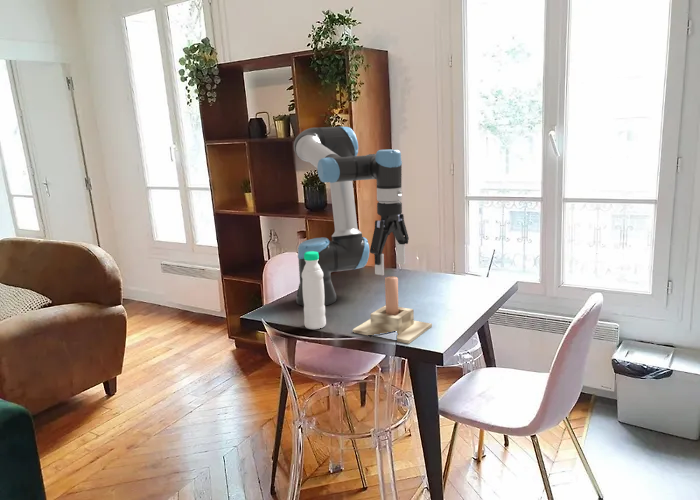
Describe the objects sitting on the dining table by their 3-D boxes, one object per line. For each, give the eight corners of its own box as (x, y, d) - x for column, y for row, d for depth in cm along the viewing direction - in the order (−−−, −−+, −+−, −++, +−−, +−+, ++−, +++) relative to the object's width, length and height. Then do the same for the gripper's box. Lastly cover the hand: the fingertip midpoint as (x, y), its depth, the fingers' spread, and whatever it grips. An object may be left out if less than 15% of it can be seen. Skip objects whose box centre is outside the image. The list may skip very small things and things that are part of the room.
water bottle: (326, 321, 183) (322, 249, 178) (326, 329, 177) (322, 254, 171) (305, 323, 183) (300, 250, 178) (304, 330, 176) (299, 255, 171)
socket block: (352, 332, 173) (351, 314, 172) (378, 317, 186) (377, 300, 185) (409, 343, 162) (408, 324, 161) (432, 326, 175) (431, 308, 174)
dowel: (384, 327, 173) (382, 278, 170) (390, 323, 177) (388, 275, 173) (395, 329, 171) (393, 280, 168) (401, 325, 175) (400, 277, 171)
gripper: (379, 208, 153) (380, 281, 158) (418, 196, 173) (419, 261, 178) (356, 207, 157) (358, 277, 162) (398, 195, 177) (398, 258, 182)
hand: (390, 269), depth 170 cm, fingers open, 13 cm apart
